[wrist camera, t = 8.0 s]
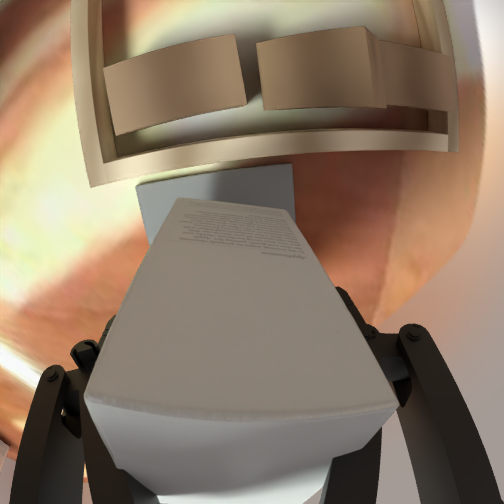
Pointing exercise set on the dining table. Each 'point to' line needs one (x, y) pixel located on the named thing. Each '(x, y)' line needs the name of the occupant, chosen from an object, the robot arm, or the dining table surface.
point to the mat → (218, 191)
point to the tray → (242, 146)
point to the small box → (234, 363)
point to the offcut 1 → (175, 83)
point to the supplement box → (3, 453)
